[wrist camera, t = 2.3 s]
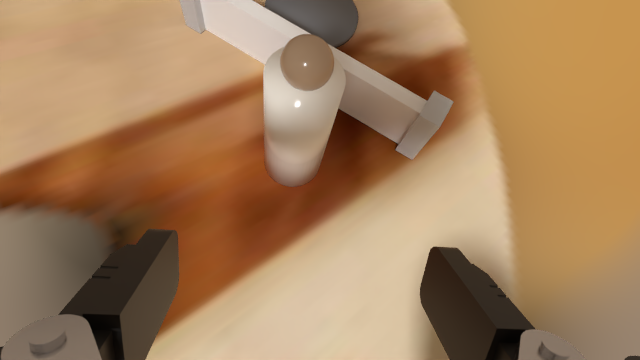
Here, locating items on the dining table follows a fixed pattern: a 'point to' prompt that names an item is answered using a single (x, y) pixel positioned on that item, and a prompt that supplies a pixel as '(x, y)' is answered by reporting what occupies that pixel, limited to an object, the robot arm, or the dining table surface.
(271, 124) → the shaker
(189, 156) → the dining table surface
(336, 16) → the coaster
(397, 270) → the dining table surface
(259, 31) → the rail
